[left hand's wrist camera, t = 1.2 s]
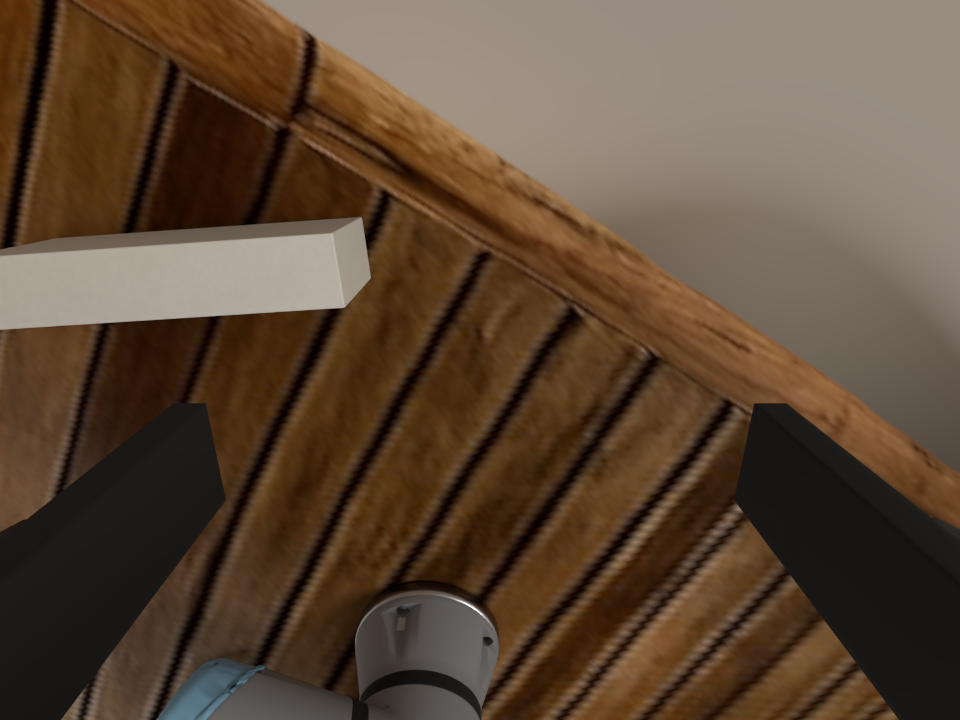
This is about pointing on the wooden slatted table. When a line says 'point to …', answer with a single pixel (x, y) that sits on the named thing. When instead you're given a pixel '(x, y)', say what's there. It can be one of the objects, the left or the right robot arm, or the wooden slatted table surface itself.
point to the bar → (183, 273)
